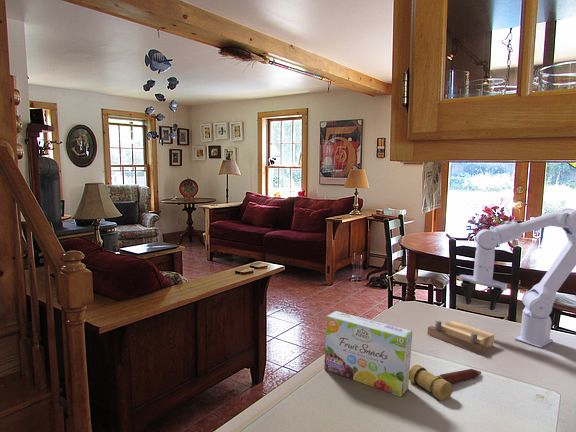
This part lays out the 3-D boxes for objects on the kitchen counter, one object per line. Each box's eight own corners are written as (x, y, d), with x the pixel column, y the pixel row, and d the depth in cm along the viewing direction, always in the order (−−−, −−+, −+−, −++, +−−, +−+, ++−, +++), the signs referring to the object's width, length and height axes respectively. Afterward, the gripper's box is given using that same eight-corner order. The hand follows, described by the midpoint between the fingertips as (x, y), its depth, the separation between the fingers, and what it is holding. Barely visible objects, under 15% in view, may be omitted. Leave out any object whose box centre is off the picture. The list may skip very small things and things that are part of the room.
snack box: (322, 370, 110) (325, 315, 108) (333, 363, 114) (335, 309, 113) (401, 398, 98) (406, 336, 96) (409, 388, 102) (413, 329, 101)
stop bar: (431, 333, 139) (432, 318, 138) (484, 353, 125) (485, 337, 124) (427, 334, 137) (428, 319, 137) (480, 354, 123) (482, 338, 123)
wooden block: (452, 331, 142) (453, 320, 141) (492, 346, 130) (494, 334, 130) (438, 336, 137) (439, 325, 136) (479, 352, 126) (480, 340, 125)
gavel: (465, 356, 115) (498, 372, 106) (463, 372, 116) (496, 389, 107) (409, 365, 105) (440, 384, 97) (407, 382, 106) (437, 403, 97)
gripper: (511, 268, 135) (507, 309, 136) (466, 260, 145) (463, 298, 147) (504, 272, 130) (499, 314, 131) (458, 263, 140) (454, 302, 142)
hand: (480, 306), depth 139 cm, fingers open, 7 cm apart
